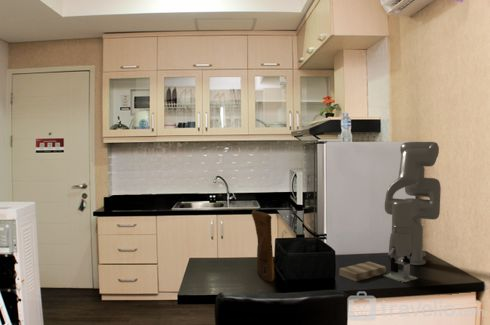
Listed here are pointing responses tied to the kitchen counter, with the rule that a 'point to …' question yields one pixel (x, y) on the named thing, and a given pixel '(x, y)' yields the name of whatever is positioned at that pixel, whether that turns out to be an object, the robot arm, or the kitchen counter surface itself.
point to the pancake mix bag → (264, 245)
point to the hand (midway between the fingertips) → (400, 269)
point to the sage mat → (400, 278)
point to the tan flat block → (362, 271)
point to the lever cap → (402, 270)
